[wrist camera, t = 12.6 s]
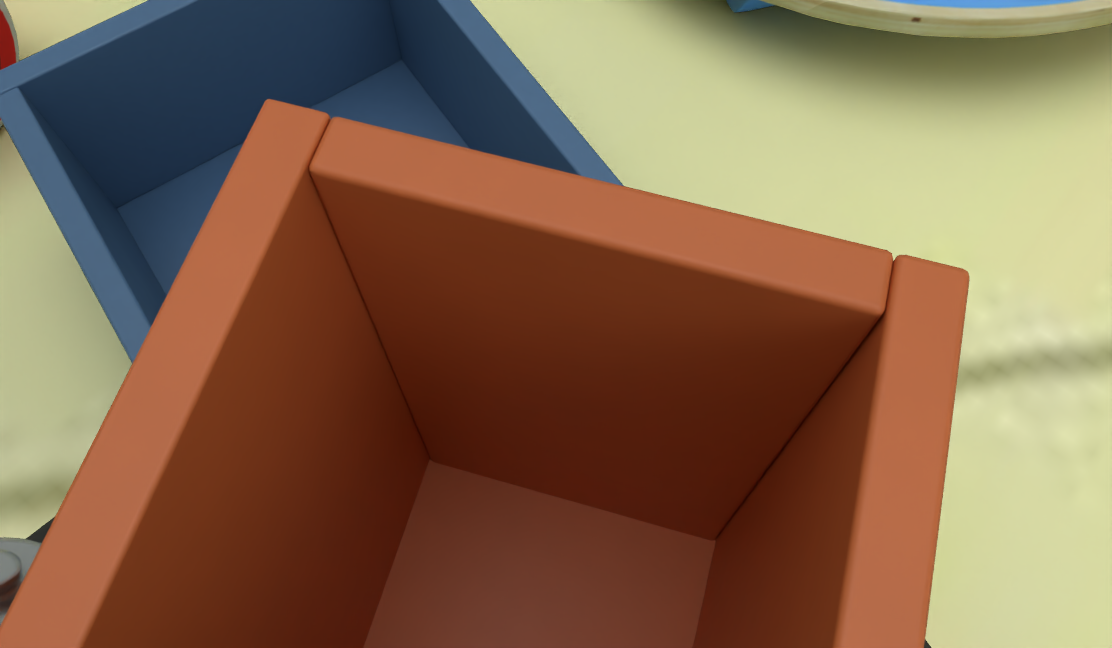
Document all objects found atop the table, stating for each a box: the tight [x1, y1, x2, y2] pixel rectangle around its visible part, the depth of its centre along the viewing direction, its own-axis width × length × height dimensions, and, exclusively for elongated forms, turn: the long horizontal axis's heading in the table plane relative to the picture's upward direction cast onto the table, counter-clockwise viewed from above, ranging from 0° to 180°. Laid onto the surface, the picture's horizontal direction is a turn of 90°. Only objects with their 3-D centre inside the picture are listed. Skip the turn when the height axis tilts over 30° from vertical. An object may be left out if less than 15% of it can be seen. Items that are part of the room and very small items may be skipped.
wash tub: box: [0, 0, 623, 364], centre depth 28 cm, size 15×13×7 cm
